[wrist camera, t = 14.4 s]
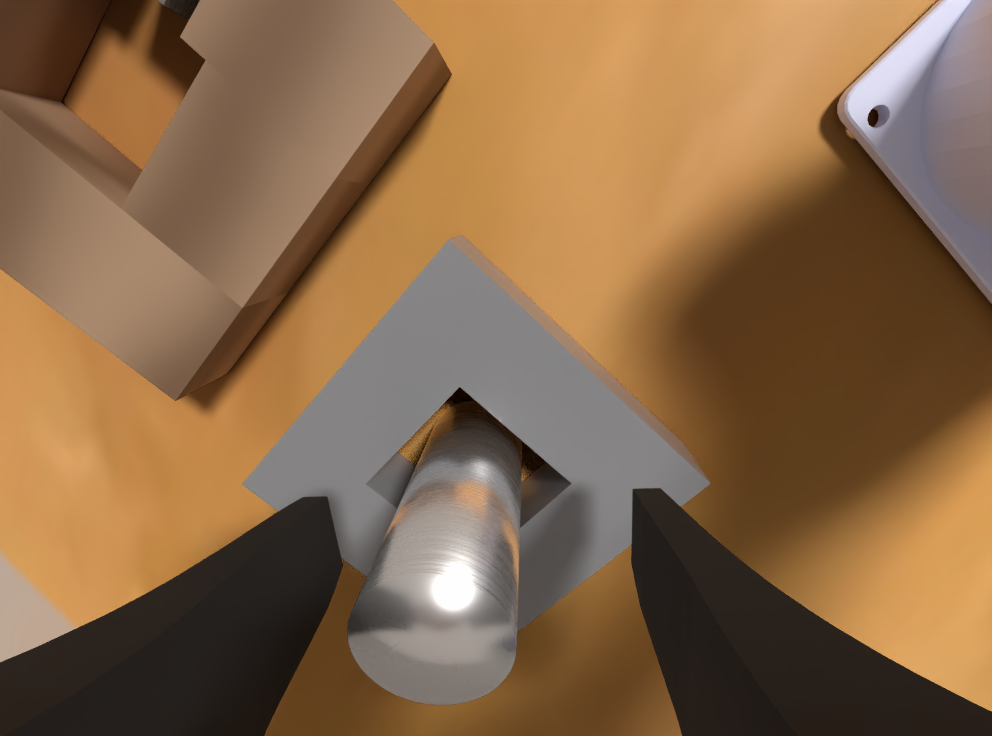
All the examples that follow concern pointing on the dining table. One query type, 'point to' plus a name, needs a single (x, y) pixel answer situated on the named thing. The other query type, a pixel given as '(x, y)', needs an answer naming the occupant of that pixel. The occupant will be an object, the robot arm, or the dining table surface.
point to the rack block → (502, 392)
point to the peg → (447, 568)
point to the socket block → (200, 170)
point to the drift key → (181, 6)
